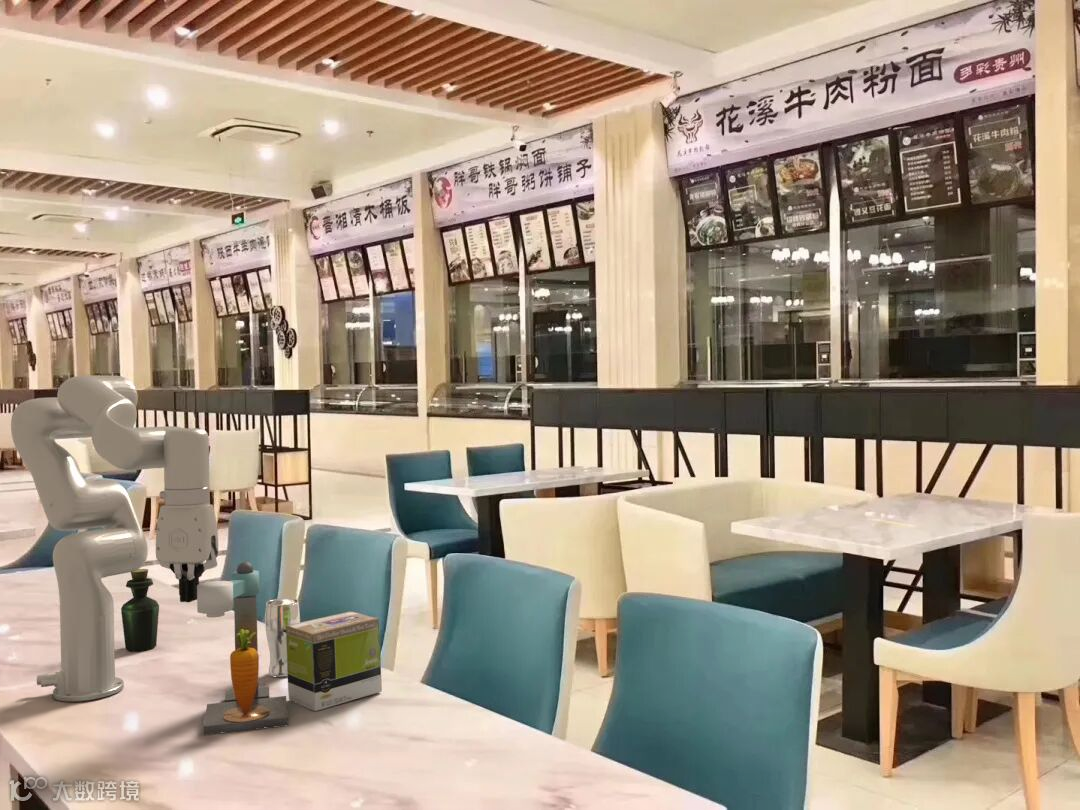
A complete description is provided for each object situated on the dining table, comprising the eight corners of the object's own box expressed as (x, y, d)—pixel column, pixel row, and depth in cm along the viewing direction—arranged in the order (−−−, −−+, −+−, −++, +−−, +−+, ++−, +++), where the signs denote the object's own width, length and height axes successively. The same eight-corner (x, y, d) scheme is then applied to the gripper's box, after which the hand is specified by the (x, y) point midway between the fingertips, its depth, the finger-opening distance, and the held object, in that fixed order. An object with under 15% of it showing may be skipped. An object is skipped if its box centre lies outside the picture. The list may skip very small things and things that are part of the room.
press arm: (236, 596, 179) (235, 559, 179) (266, 597, 178) (265, 559, 178) (191, 619, 162) (190, 577, 162) (223, 619, 161) (223, 578, 161)
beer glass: (291, 679, 190) (290, 606, 190) (259, 677, 191) (258, 604, 191) (306, 669, 197) (305, 598, 196) (276, 667, 198) (274, 597, 198)
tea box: (353, 682, 187) (352, 609, 187) (382, 693, 180) (381, 617, 180) (286, 700, 177) (284, 623, 177) (314, 713, 170) (312, 632, 169)
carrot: (234, 708, 167) (233, 625, 167) (262, 707, 168) (261, 624, 167) (227, 718, 163) (225, 633, 162) (256, 717, 163) (254, 632, 162)
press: (203, 735, 159) (201, 618, 159) (209, 700, 177) (207, 595, 177) (288, 725, 163) (286, 611, 163) (285, 692, 182) (283, 589, 181)
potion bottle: (128, 655, 209) (126, 575, 209) (116, 648, 215) (115, 570, 215) (165, 648, 214) (163, 570, 214) (153, 641, 220) (151, 565, 220)
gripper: (136, 499, 163) (138, 603, 164) (212, 501, 160) (214, 607, 160) (163, 494, 171) (165, 594, 171) (236, 496, 167) (238, 597, 168)
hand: (189, 600), depth 166 cm, fingers closed
